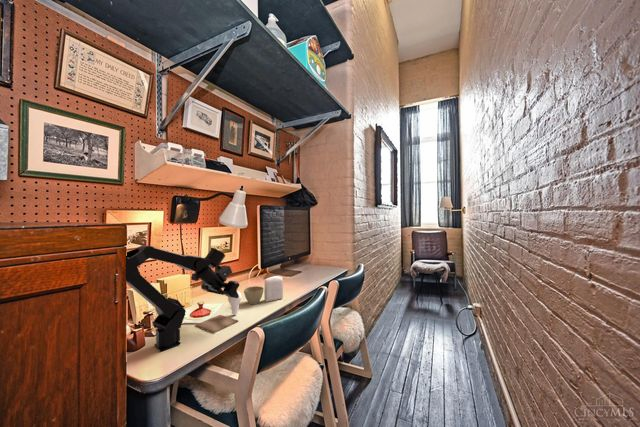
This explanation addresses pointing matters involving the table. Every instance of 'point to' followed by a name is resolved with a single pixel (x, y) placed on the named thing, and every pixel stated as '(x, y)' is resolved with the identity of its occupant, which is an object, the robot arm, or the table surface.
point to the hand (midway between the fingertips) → (230, 295)
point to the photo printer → (273, 288)
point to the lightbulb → (235, 303)
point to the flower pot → (253, 294)
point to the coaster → (216, 323)
